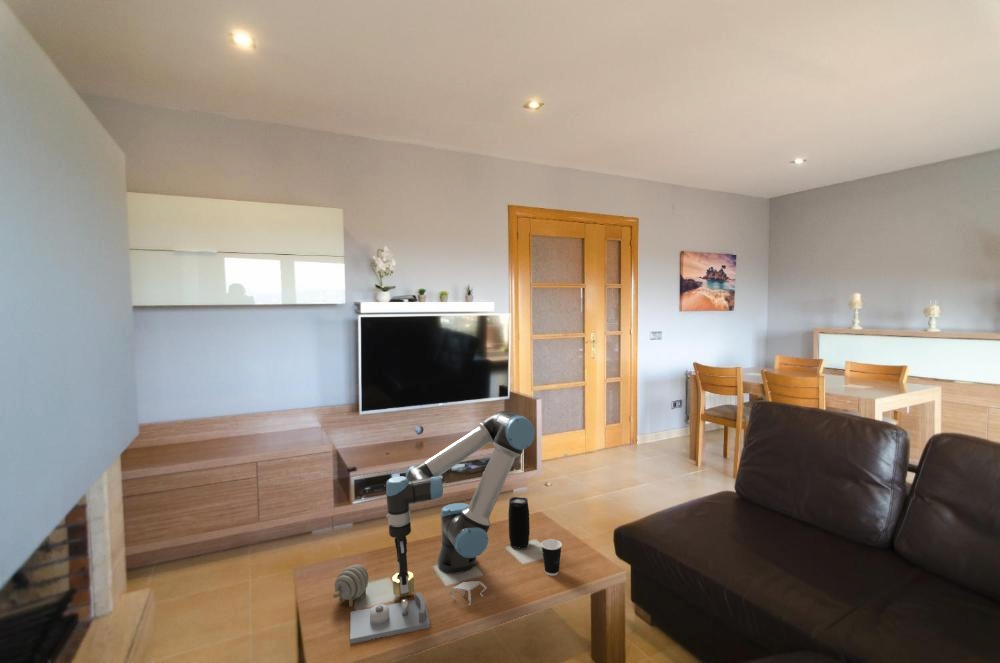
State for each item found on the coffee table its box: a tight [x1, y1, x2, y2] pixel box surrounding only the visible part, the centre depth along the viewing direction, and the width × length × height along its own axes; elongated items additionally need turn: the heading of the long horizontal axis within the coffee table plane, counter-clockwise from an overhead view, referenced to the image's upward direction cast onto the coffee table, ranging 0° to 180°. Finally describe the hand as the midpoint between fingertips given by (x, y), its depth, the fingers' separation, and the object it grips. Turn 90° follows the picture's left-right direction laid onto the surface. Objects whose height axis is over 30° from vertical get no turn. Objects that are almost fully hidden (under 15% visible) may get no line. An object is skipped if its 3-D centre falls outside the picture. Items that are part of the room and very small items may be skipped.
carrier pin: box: [401, 598, 409, 616], centre depth 158 cm, size 2×2×4 cm
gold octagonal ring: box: [392, 571, 415, 598], centre depth 171 cm, size 7×7×5 cm
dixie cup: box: [540, 538, 563, 577], centre depth 184 cm, size 8×8×11 cm
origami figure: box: [449, 580, 488, 606], centre depth 168 cm, size 12×8×5 cm
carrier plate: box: [349, 591, 431, 644], centre depth 157 cm, size 24×14×5 cm, turn 106°
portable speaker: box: [508, 496, 531, 550], centre depth 206 cm, size 9×9×20 cm
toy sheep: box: [333, 564, 370, 608], centre depth 169 cm, size 11×17×11 cm, turn 165°
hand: (403, 586), depth 171 cm, fingers closed on gold octagonal ring, 7 cm apart
